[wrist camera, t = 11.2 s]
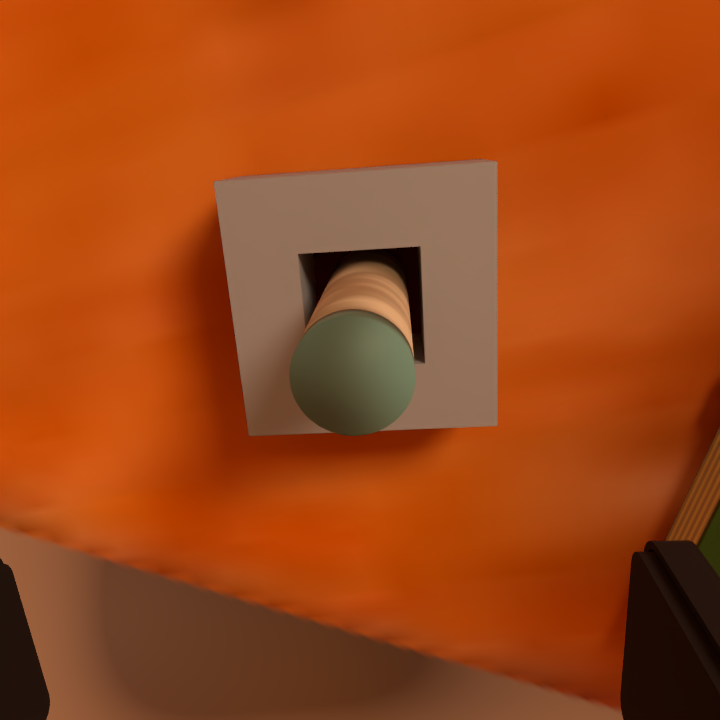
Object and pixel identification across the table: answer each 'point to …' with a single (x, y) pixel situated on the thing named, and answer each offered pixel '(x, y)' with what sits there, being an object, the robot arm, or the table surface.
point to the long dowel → (357, 348)
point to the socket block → (363, 232)
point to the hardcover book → (702, 509)
